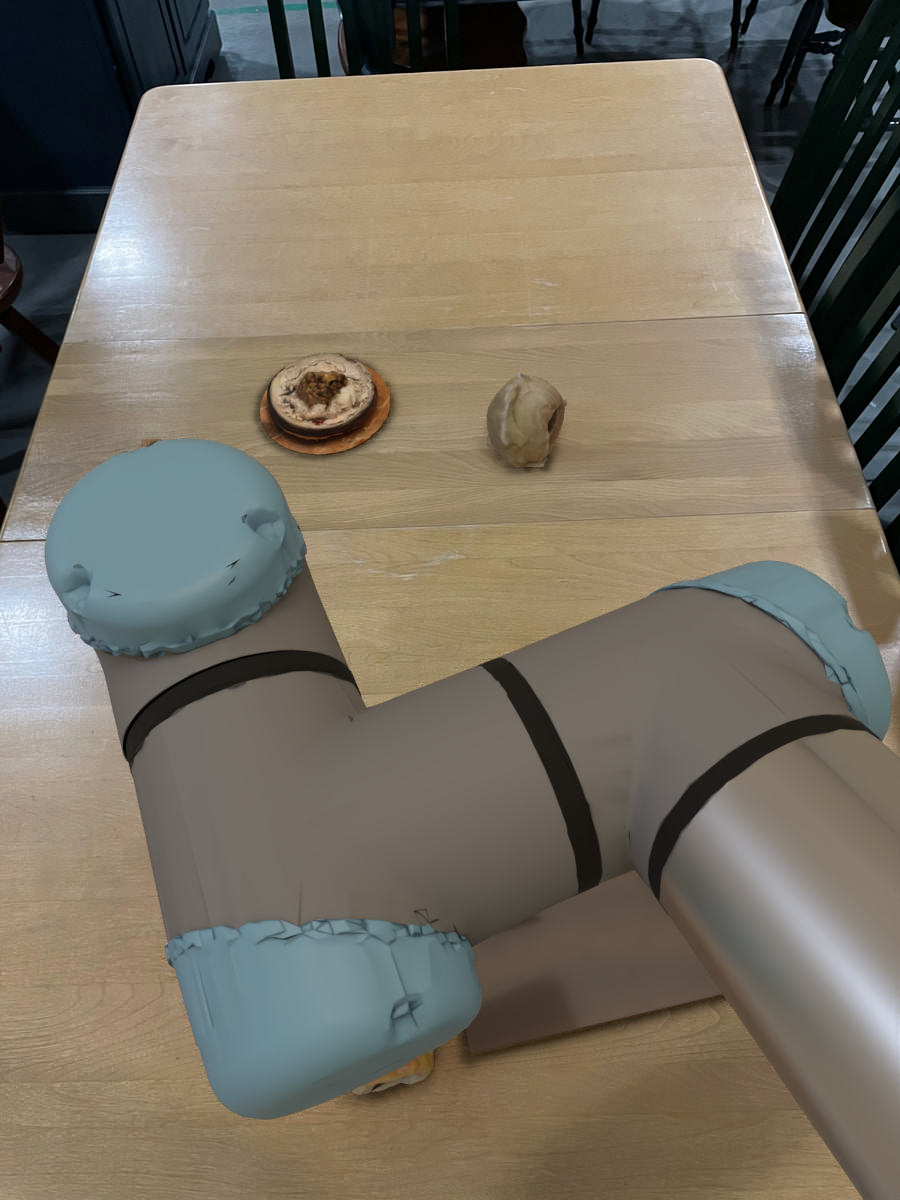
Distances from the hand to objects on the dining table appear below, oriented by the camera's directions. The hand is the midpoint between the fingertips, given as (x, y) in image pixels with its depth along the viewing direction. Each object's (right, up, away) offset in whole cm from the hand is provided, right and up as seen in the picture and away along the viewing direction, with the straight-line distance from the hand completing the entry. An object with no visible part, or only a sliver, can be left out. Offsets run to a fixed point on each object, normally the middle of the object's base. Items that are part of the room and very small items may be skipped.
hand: (337, 866), depth 58 cm
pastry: (+3, -14, +6) cm, 15 cm away
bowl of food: (-7, +40, +40) cm, 57 cm away
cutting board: (+19, -7, +10) cm, 23 cm away
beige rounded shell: (+16, +35, +36) cm, 53 cm away
